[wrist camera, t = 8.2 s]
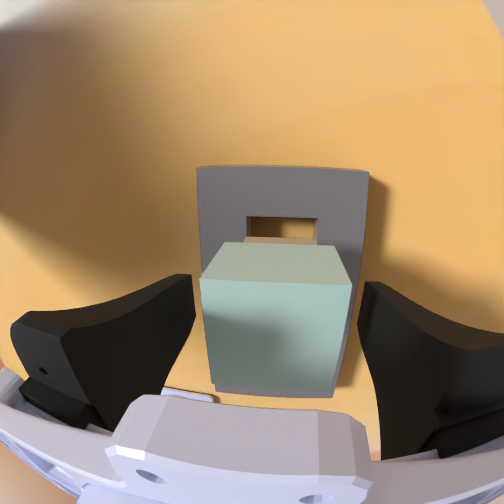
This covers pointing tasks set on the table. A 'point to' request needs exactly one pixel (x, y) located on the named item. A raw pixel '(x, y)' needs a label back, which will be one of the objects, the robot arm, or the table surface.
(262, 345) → the plug
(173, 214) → the table surface
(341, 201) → the grey peg board
